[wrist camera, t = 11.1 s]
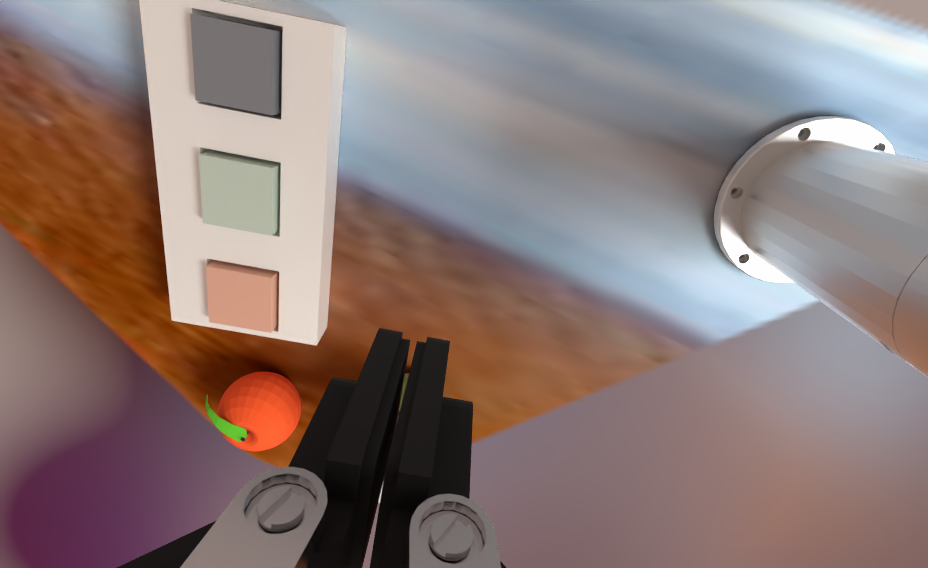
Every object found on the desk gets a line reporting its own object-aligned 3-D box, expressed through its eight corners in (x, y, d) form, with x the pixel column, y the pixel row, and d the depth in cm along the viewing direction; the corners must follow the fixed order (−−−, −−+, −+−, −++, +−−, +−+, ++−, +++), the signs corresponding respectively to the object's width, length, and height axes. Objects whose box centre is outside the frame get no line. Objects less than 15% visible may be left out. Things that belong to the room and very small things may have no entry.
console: (347, 27, 32) (334, 24, 29) (327, 327, 42) (316, 345, 39) (167, -10, 31) (137, -17, 28) (192, 303, 41) (171, 320, 39)
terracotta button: (286, 262, 39) (271, 278, 36) (285, 314, 41) (271, 332, 38) (225, 251, 38) (205, 266, 36) (227, 304, 40) (209, 322, 38)
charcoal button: (290, 32, 31) (273, 30, 29) (289, 110, 33) (272, 115, 31) (215, 17, 31) (189, 13, 28) (218, 97, 33) (195, 100, 30)
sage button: (288, 159, 35) (272, 168, 32) (287, 223, 37) (271, 235, 34) (220, 146, 35) (198, 154, 32) (223, 211, 37) (203, 223, 34)
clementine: (218, 388, 45) (175, 442, 39) (245, 338, 43) (203, 387, 36) (294, 424, 47) (264, 482, 41) (323, 378, 45) (297, 432, 38)
